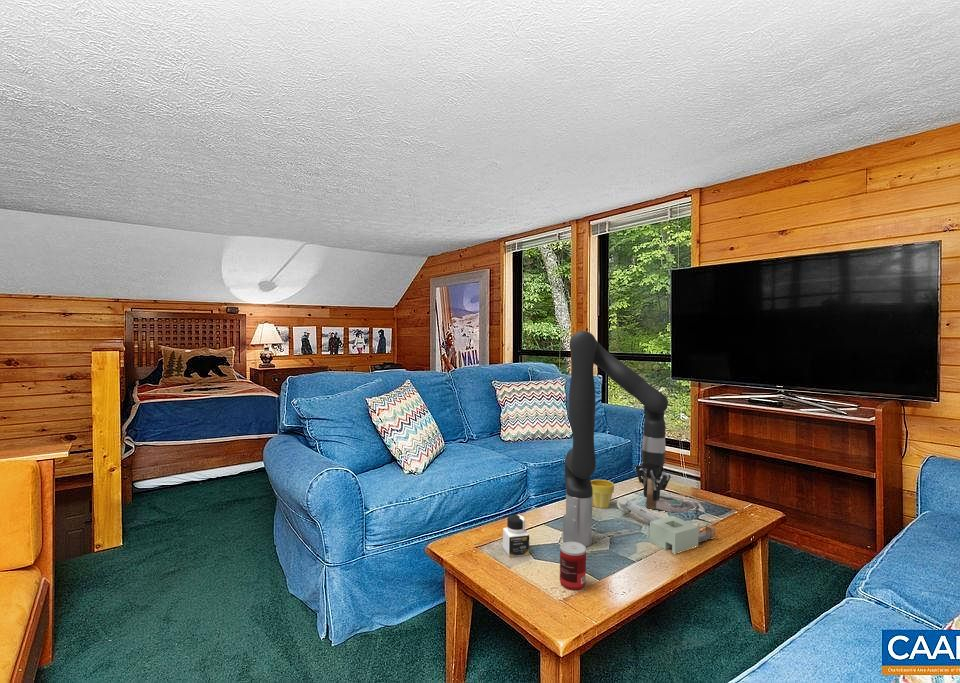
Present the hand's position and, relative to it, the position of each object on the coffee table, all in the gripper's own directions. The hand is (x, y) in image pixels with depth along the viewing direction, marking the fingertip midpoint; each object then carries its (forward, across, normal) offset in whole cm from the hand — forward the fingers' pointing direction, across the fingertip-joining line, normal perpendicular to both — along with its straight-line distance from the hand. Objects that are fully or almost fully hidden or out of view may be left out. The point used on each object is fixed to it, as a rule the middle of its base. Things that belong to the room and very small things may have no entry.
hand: (651, 498), depth 167 cm
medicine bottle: (+19, -20, -42) cm, 50 cm away
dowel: (+3, 0, 0) cm, 3 cm away
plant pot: (+18, -39, +14) cm, 45 cm away
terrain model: (+18, -24, +40) cm, 50 cm away
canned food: (+19, +5, -38) cm, 43 cm away
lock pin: (+17, +4, +21) cm, 28 cm away
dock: (+18, +1, +11) cm, 21 cm away
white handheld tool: (+16, -17, +17) cm, 29 cm away
